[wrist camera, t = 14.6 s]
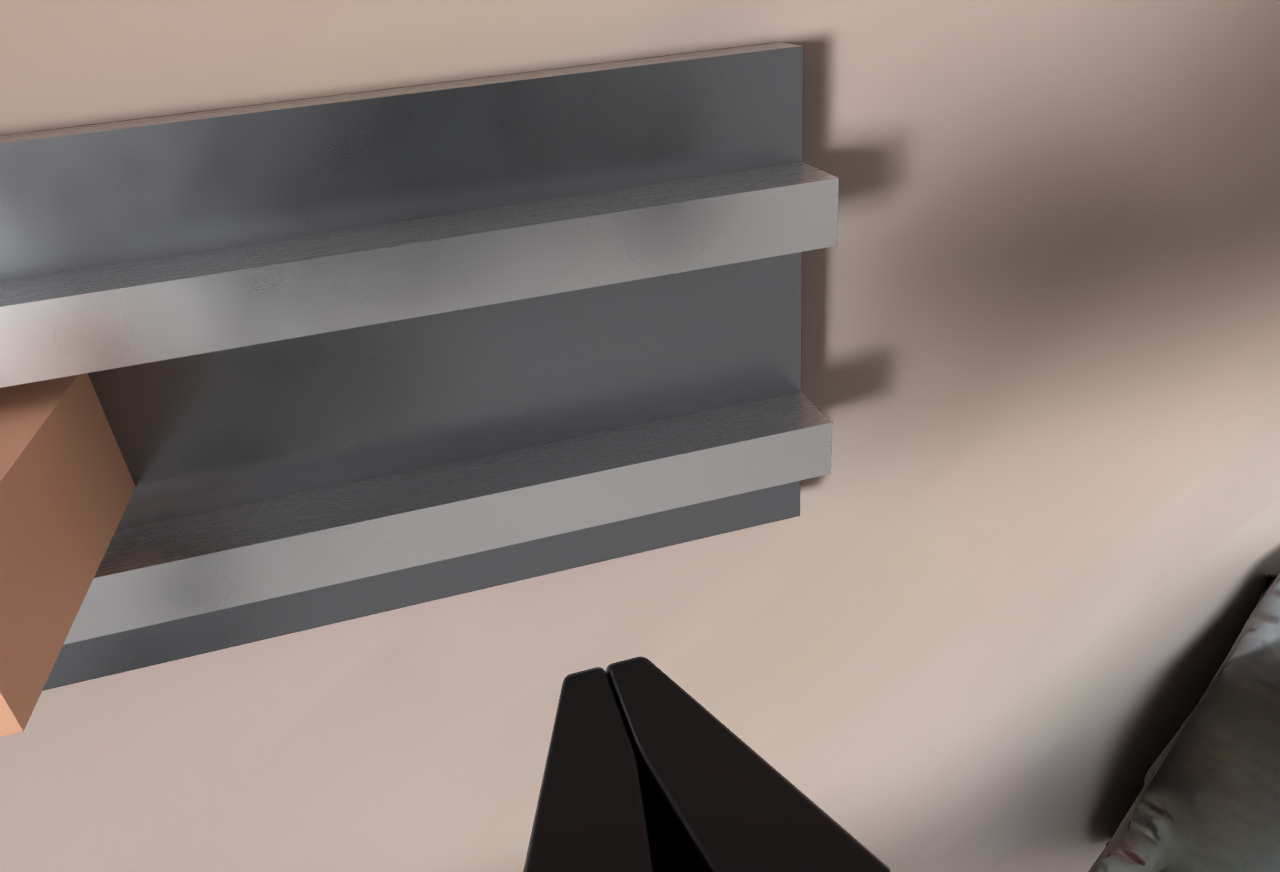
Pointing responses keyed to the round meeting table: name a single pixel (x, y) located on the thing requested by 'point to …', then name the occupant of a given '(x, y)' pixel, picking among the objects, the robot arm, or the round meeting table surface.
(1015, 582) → the round meeting table surface
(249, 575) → the track base
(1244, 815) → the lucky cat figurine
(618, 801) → the robot arm
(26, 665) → the tan flat rectangular block
